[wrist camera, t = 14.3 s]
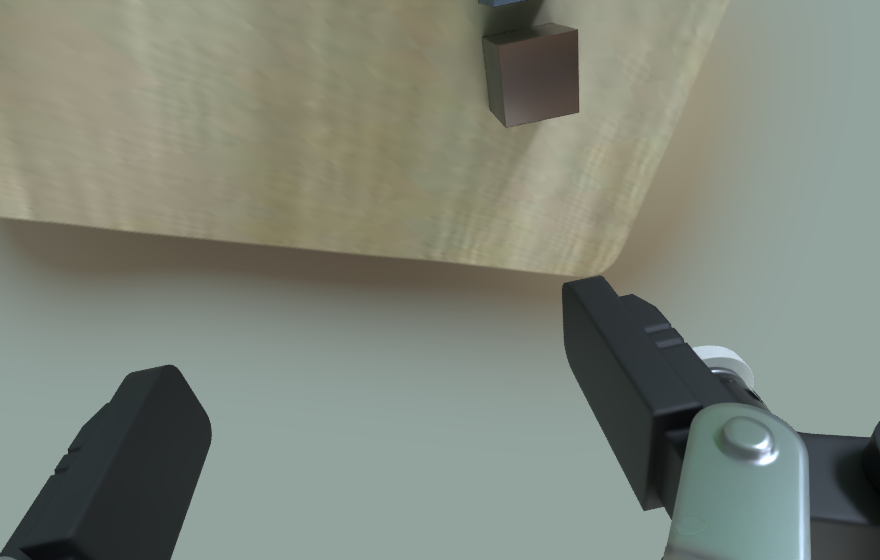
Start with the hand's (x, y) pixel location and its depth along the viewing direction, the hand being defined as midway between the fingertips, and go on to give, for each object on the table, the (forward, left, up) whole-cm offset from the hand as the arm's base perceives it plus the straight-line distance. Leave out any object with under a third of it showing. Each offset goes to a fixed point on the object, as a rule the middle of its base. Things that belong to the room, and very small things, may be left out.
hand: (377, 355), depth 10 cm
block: (0, -10, -26) cm, 28 cm away
